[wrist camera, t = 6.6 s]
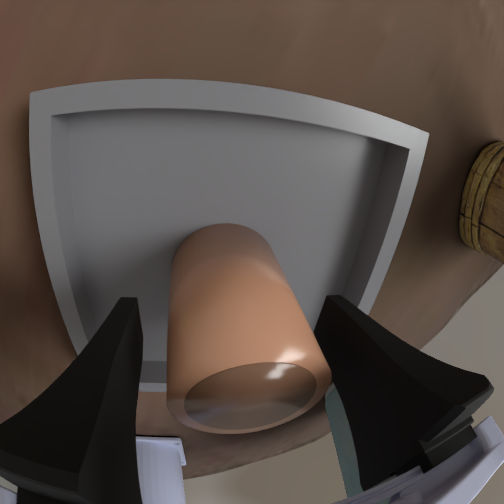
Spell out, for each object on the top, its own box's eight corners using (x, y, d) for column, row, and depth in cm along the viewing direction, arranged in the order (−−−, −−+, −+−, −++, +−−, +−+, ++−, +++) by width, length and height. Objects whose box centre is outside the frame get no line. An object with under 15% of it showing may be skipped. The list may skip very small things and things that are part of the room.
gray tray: (323, 351, 20) (335, 377, 18) (98, 357, 16) (92, 387, 14) (396, 124, 12) (429, 133, 10) (58, 91, 8) (30, 92, 6)
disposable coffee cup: (293, 379, 21) (355, 547, 8) (409, 323, 21) (501, 460, 8) (313, 420, 27) (357, 534, 14) (400, 379, 27) (457, 481, 14)
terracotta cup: (258, 314, 15) (295, 430, 9) (165, 305, 14) (163, 433, 8) (289, 233, 13) (361, 348, 7) (180, 214, 12) (173, 343, 6)
